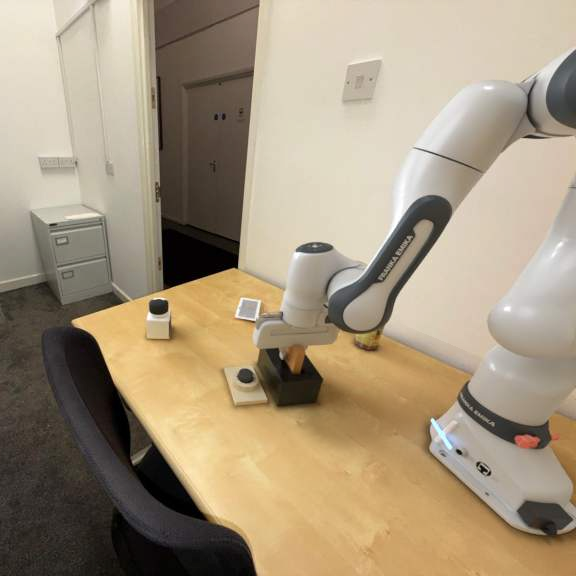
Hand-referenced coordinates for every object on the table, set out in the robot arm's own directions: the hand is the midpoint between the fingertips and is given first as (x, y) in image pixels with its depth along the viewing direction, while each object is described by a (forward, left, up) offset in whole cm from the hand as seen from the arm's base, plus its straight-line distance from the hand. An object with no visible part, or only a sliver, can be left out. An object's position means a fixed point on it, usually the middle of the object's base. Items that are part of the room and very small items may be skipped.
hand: (289, 357), depth 75 cm
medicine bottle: (+25, +32, -9) cm, 42 cm away
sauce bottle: (+12, -32, -9) cm, 35 cm away
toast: (0, 0, -5) cm, 5 cm away
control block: (0, +11, -8) cm, 14 cm away
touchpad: (+35, -1, -9) cm, 36 cm away
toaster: (0, 0, -8) cm, 8 cm away
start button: (0, +11, -6) cm, 12 cm away
